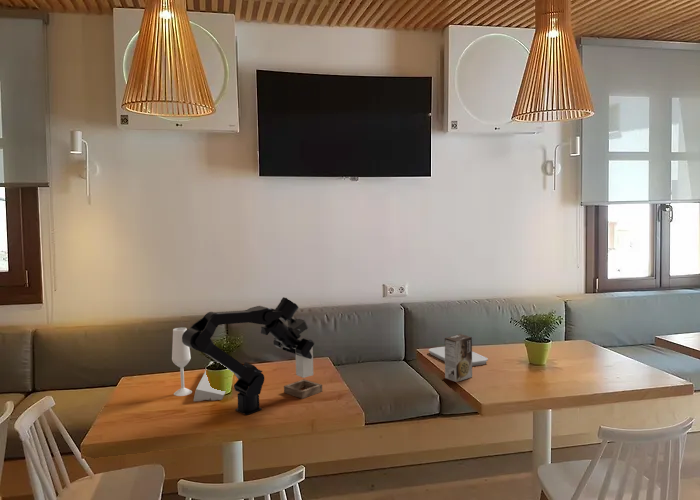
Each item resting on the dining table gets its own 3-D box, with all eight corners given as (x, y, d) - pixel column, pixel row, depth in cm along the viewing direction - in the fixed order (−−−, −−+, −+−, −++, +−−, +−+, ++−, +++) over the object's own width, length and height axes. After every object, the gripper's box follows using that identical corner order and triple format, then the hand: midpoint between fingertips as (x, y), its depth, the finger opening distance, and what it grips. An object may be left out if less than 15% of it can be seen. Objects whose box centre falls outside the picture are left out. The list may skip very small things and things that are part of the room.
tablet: (457, 369, 231) (457, 364, 231) (426, 353, 255) (426, 348, 255) (490, 364, 237) (490, 359, 237) (457, 349, 261) (457, 344, 261)
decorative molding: (232, 377, 235) (208, 372, 234) (234, 366, 235) (210, 361, 234) (220, 407, 201) (192, 402, 200) (224, 395, 201) (196, 389, 200)
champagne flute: (172, 396, 205) (169, 331, 203) (174, 390, 212) (171, 327, 210) (191, 395, 207) (188, 330, 204) (193, 389, 213) (190, 326, 211)
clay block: (303, 377, 202) (302, 343, 201) (296, 374, 205) (295, 341, 204) (313, 375, 205) (312, 341, 203) (306, 372, 208) (305, 338, 207)
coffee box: (460, 373, 225) (460, 333, 223) (472, 377, 220) (472, 336, 218) (444, 378, 220) (443, 337, 218) (456, 382, 214) (456, 340, 213)
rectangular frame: (302, 398, 200) (302, 392, 200) (284, 392, 207) (283, 386, 207) (322, 391, 208) (322, 384, 207) (304, 385, 214) (303, 379, 214)
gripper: (309, 317, 193) (335, 343, 201) (279, 309, 207) (305, 333, 215) (290, 343, 189) (317, 369, 197) (261, 334, 203) (288, 358, 211)
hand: (307, 356), depth 205 cm, fingers closed on clay block, 4 cm apart
